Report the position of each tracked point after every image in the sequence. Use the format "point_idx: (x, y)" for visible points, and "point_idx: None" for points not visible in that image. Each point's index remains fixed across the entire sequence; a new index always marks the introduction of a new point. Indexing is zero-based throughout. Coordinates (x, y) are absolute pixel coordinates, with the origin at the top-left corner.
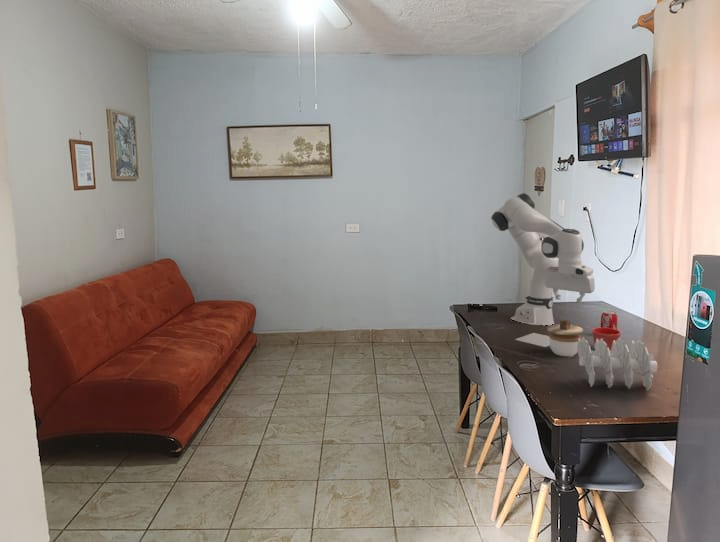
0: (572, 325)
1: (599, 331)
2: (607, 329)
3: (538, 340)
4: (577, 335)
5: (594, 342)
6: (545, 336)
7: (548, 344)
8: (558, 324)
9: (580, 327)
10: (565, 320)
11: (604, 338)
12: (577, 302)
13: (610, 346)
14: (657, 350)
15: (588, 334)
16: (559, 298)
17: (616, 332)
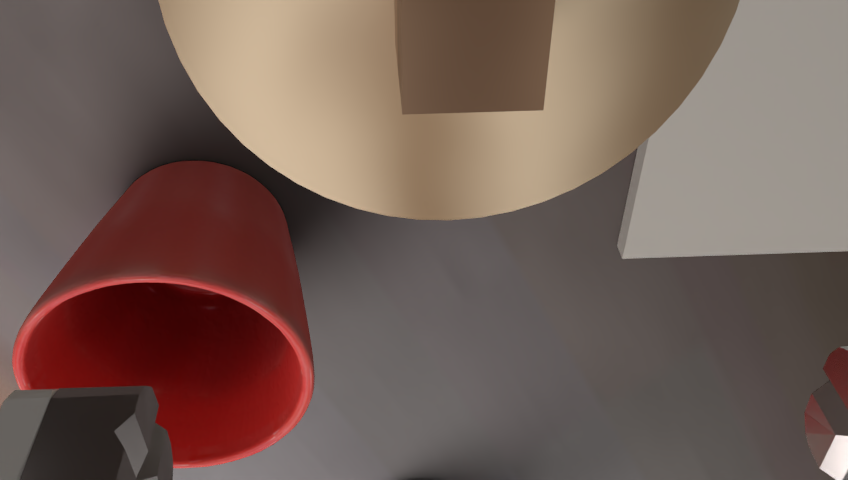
0: (455, 206)
1: (284, 388)
2: (230, 443)
3: (835, 78)
4: None
5: (262, 228)
6: (804, 227)
7: None
8: (645, 123)
9: (315, 191)
10: (469, 43)
11: (106, 250)
12: (128, 386)
13: (91, 232)
14: None
15: (540, 474)
16: (833, 411)
17: None
